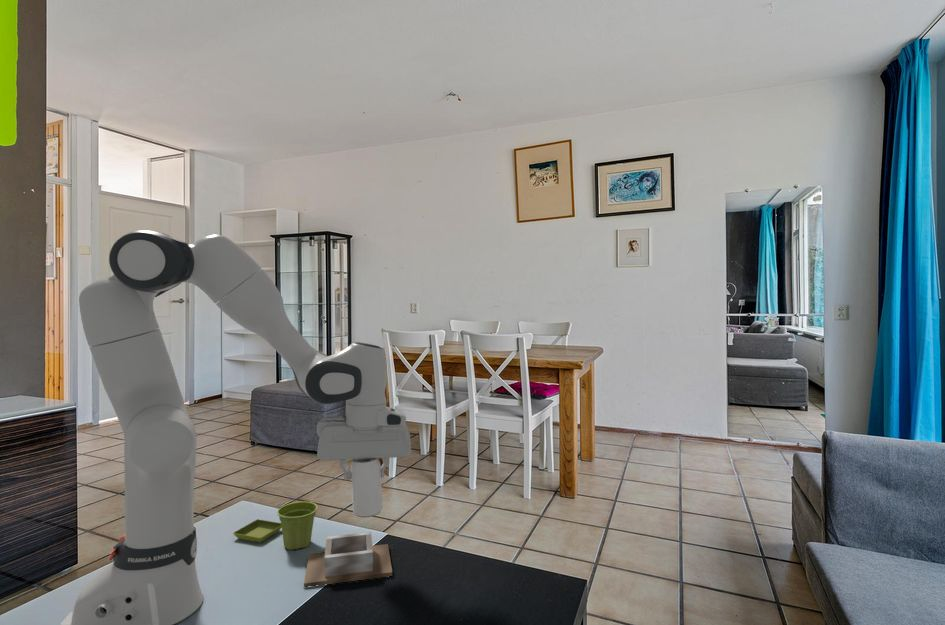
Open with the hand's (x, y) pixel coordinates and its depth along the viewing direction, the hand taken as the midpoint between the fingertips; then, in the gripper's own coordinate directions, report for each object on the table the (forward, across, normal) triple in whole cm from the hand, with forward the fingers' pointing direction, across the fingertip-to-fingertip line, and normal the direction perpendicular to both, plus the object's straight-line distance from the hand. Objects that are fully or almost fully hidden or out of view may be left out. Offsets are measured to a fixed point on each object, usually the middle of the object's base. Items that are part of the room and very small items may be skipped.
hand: (364, 478), depth 108 cm
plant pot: (+20, -15, +16) cm, 30 cm away
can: (+8, +1, 0) cm, 8 cm away
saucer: (+21, -25, +24) cm, 40 cm away
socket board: (+21, -3, +2) cm, 21 cm away
